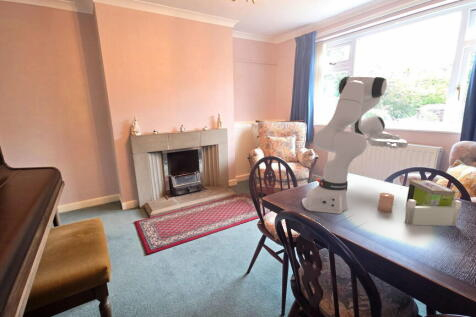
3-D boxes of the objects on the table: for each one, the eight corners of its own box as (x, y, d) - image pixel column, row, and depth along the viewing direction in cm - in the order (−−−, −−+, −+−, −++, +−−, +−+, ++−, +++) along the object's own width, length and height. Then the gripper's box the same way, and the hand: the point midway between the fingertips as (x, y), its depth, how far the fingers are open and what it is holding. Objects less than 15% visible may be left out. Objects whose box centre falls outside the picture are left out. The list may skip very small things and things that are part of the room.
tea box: (449, 222, 101) (457, 190, 97) (426, 221, 102) (432, 190, 98) (425, 207, 116) (430, 179, 112) (404, 206, 116) (409, 179, 113)
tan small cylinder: (381, 212, 110) (383, 197, 108) (375, 207, 116) (377, 192, 114) (394, 213, 110) (397, 197, 108) (387, 207, 116) (389, 192, 114)
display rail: (407, 224, 99) (411, 201, 97) (404, 222, 101) (408, 199, 99) (456, 225, 98) (461, 202, 95) (452, 223, 100) (457, 200, 97)
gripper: (366, 133, 140) (376, 140, 127) (401, 135, 138) (415, 143, 126) (363, 142, 143) (373, 150, 130) (397, 145, 141) (410, 153, 128)
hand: (394, 147), depth 128 cm, fingers closed
